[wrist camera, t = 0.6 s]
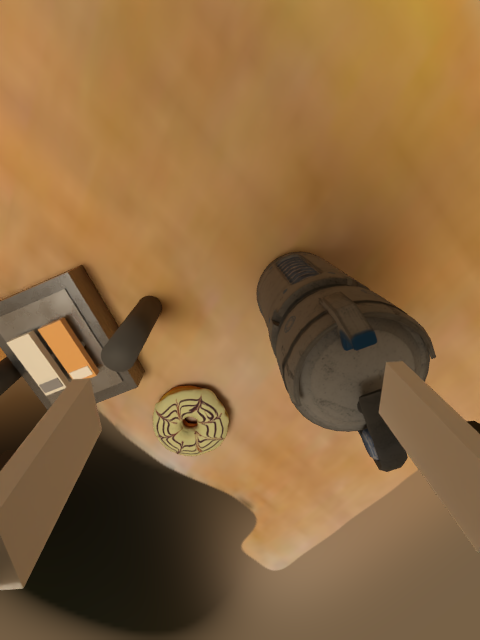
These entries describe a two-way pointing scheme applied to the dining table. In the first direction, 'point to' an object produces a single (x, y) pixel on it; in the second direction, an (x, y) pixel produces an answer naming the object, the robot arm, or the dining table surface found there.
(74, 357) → the paddle orange
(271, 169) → the dining table surface
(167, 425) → the decorated donut
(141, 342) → the post near
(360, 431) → the beverage bottle
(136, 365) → the breaker box
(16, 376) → the post far
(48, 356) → the paddle ivory
